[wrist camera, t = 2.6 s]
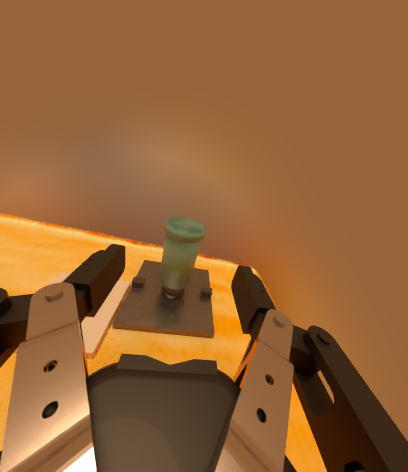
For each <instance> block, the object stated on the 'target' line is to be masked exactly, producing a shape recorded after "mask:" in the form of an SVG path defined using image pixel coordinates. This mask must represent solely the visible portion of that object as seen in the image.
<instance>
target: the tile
mask: <svg viewBox="0 0 408 472" xmlns="http://www.w3.org/2000/svg"><path fill="white" fill-rule="evenodd" d="M70 274H71V273H65V272H61V273H59V274H58V275H57V276H56V277H55V278H54V279H52V280H51V281H50V282H49V283H48V284H47V285H45V286H48V285H50V284H54V283H61V282H62V281H64V280H65V279H66V278H67V277H68V276H69V275H70ZM45 286H44V287H45ZM129 288H130V282H128V281H121V280H118V281H117V283H116V284H115V286H114V288H113V289H112V291H111V292H110V294H109V295H108V297H107V298H106V300H105V301H104V303H103V304H102V306H101V308H100V309H99V311H98V312H97V314H96V315H95V317H85V319H84V320H83V321H82V323H81V325H82V332H83V339H84V346H85V353H86V357H87V358H94V356H95V354H96V352H97V350H98V348H99V346H100V344H101V342H102V340H103V338H104V336H105V334H106V332H107V330H108V328H109V327H110V325H111V323H112V321H113V319H114V317H115V315H116V313H117V311H118V309H119V307H120V305H121V303H122V301H123V299H124V297H125V295H126V294H127V292H128V290H129ZM17 351H18V348H17V349H16V350H15V351H14V352H17Z"/></svg>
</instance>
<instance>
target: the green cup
mask: <svg viewBox="0 0 408 472" xmlns="http://www.w3.org/2000/svg"><path fill="white" fill-rule="evenodd" d="M164 232H165V234H166V236H165V243H164V250H163V257H162V264H161V271H160V281H161V283H162V284H163V285H164V286H165V287H167V288H170V289H175V290H176V289H183V288H185V287H187V286H188V285H189V283H190V280H191V277H192V273H193V269H194V265H195V261H196V258H197V254H198V250H199V246H200V242H201V240H203V238H204V235H205V232H206V228H205V226H204V225H203V224H202V223H200V222H199V221H196V220H194V219H191V218H187V217H170V218H168V219H167V220H166V221H165V227H164Z"/></svg>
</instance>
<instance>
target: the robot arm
mask: <svg viewBox="0 0 408 472" xmlns="http://www.w3.org/2000/svg"><path fill="white" fill-rule="evenodd" d="M124 269H125V246H122V245H116V244H111V245H110V246H109V247H108V248H107V249H106V250H100V251H98V252H96V253H94V254H92V255H91V256H90V257H89V258H88V259H87V260H85V261H84V262H83V263H82V265H80V266H79V267H78V268H77V269H76V270H75V271H73V272H72V273H71V274H70V275H69V276H68V277H67V278H66V279H65V280H64V281H62V282H61V283H54V284H50V285H48V286H45V287H43V288H41V289H40V290H38V291H37V292H36V293H35V294H29V295H20V296H10V297H9V295H8V293H7V291H6V290H4V289H2V288H0V367H1V366H2V365H3V364H4V363H5V362H6V360H7V359H8V358H9V357H10V356H11V355H12V354H13V352H14V351H15V350H16V349H17V348H18V351H17V357H16V364H15V370H14V377H13V384H12V390H11V397H10V403H9V410H8V417H7V423H6V430H5V436H4V443H3V449H2V451H1V452H0V472H297V471H296V470H295V468H294V467H293V465H292V464H291V462H290V461H289V459H288V458H287V457H286V455H285V448H286V438H287V429H288V419H289V410H290V400H291V391H292V381H293V384H294V386H295V389H296V392H297V394H298V397H299V399H300V402H301V405H302V407H303V410H304V412H305V415H306V418H307V420H308V423H309V425H310V428H311V431H312V433H313V436H314V438H315V441H316V444H317V446H318V449H319V451H320V454H321V457H322V459H323V462H324V464H325V467H326V470H327V472H408V442H407V440H406V439H405V437H404V436H403V435H402V433H401V432H400V430H399V429H398V428H397V426H396V425H395V423H394V422H393V421H392V419H391V418H390V416H389V415H388V414H387V412H386V411H385V410H384V408H383V407H382V405H381V404H380V402H379V401H378V400H377V398H376V397H375V395H374V394H373V393H372V391H371V390H370V388H369V387H368V385H367V384H366V383H365V381H364V380H363V378H362V377H361V376H360V374H359V373H358V371H357V370H356V369H355V367H354V366H353V365H352V363H351V362H350V360H349V359H348V358H347V356H346V355H345V353H344V352H343V350H342V349H341V348H340V346H339V345H338V343H337V342H336V341H335V339H334V338H333V337H332V336H331V335H330V334H329V333H328V332H326V331H325V330H323V329H322V328H320V327H317V326H310V327H309V328H308V330H307V331H306V330H304V329H301V328H299V327H297V326H294V325H292V323H291V321H290V319H288V317H287V316H286V315H285V314H283V313H282V312H280V311H278V310H276V308H275V306H274V304H273V302H272V300H271V298H270V296H269V294H268V292H267V291H266V289H265V287H264V285H263V283H262V281H261V280H260V279H259V278H258V277H257V275H254V274H253V272H252V270H251V268H250V267H248V266H242V265H239V266H238V268H237V270H236V273H235V275H234V278H233V280H232V285H231V288H232V293H233V296H234V300H235V304H236V308H237V312H238V315H239V319H240V323H241V327H242V331H243V334H250V335H251V340H250V341H249V344H248V346H247V349H246V351H245V353H244V356H243V358H242V361H241V363H240V366H239V368H238V370H237V372H236V374H235V376H234V378H233V380H232V379H231V378H230V377H229V376H228V375H226V374H225V373H223V372H222V371H220V370H218V369H217V363H216V361H211V360H198V359H193V360H189V361H185V362H181V363H177V364H173V365H169V364H166V363H163V362H161V361H158V360H156V359H154V358H151V357H149V356H145V355H132V354H121V357H120V360H119V362H117V363H113V364H110V365H107V366H105V367H103V368H101V369H99V370H97V371H96V372H94V373H92V374H91V375H90V376H89V371H88V365H87V359H86V353H85V346H84V339H83V332H82V325H81V323H82V321H83V320H84V319H85V317H95V315H96V314H97V312H98V311H99V309H100V308H101V306H102V304H103V303H104V301H105V300H106V298H107V297H108V295H109V294H110V292H111V291H112V289H113V288H114V286H115V284H116V283H117V281H118V280H119V278H120V277H121V275H122V274H123V272H124ZM320 370H321V372H322V374H323V376H324V377H325V379H326V381H327V383H328V385H329V386H330V388H331V390H332V393H333V395H334V404H333V402H332V400H331V398H330V396H329V394H328V393H327V390H326V389H325V386H324V385H323V383H322V381H321V379H320V377H319V375H318V373H317V372H318V371H320Z"/></svg>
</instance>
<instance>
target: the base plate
mask: <svg viewBox="0 0 408 472" xmlns="http://www.w3.org/2000/svg"><path fill="white" fill-rule="evenodd" d="M161 264H162V263H160V262H154V261H148V260H144V262H143V264H142V266H141V268H140V270H139V272H138V274H137V276H136V277H134V279H133V281H132V286H131V288H130V290H129V292H128V294H127V296H126V298H125V300H124V302H123V304H122V306H121V308H120V310H119V312H118V314H117V316H116V318H115V320H114V322H113V328H117V329H127V330H137V331H147V332H157V333H167V334H176V335H186V336H196V337H206V338H213V336H214V325H213V315H212V304H211V295H212V288H210V283H209V272H208V270H203V269H197V268H194V269H193V273H192V277H191V280H190V283H189V285H188V286H187V287H185V288H183V289H176V290H175V289H170V288H167V287H165V286H164V285H163V284H162V283H161V281H160V271H161Z"/></svg>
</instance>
